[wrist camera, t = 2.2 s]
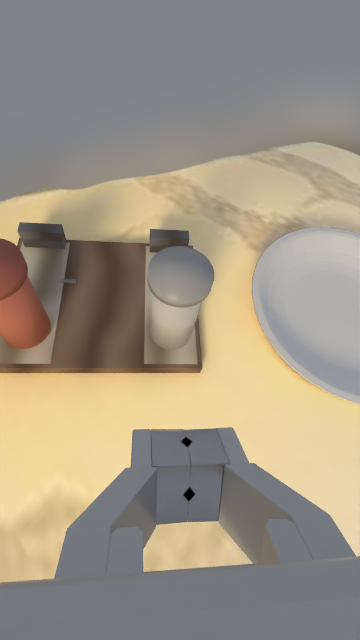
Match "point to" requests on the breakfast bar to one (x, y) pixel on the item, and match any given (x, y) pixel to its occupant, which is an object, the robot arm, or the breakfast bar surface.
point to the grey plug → (177, 294)
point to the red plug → (19, 301)
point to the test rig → (96, 306)
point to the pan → (313, 306)
